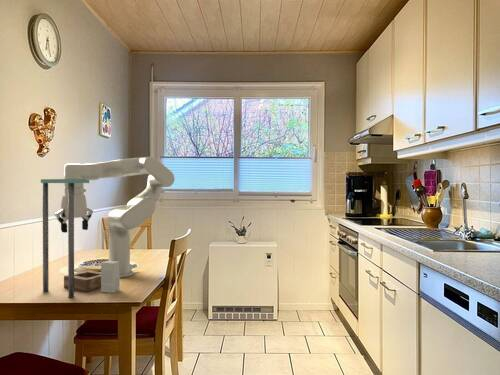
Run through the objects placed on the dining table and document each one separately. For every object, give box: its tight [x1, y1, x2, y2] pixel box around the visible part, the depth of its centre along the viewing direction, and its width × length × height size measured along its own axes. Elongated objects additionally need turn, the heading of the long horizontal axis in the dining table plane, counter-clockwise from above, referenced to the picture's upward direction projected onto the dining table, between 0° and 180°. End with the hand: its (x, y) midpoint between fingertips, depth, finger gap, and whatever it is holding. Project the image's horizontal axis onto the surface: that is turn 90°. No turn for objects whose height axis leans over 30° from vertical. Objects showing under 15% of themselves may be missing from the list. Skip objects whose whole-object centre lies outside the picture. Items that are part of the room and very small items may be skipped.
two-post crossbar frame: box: [40, 178, 90, 299], centre depth 151 cm, size 8×19×46 cm, turn 61°
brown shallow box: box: [63, 270, 101, 293], centre depth 159 cm, size 12×14×5 cm
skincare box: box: [100, 260, 121, 294], centre depth 152 cm, size 6×4×12 cm
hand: (75, 230), depth 164 cm, fingers open, 9 cm apart
